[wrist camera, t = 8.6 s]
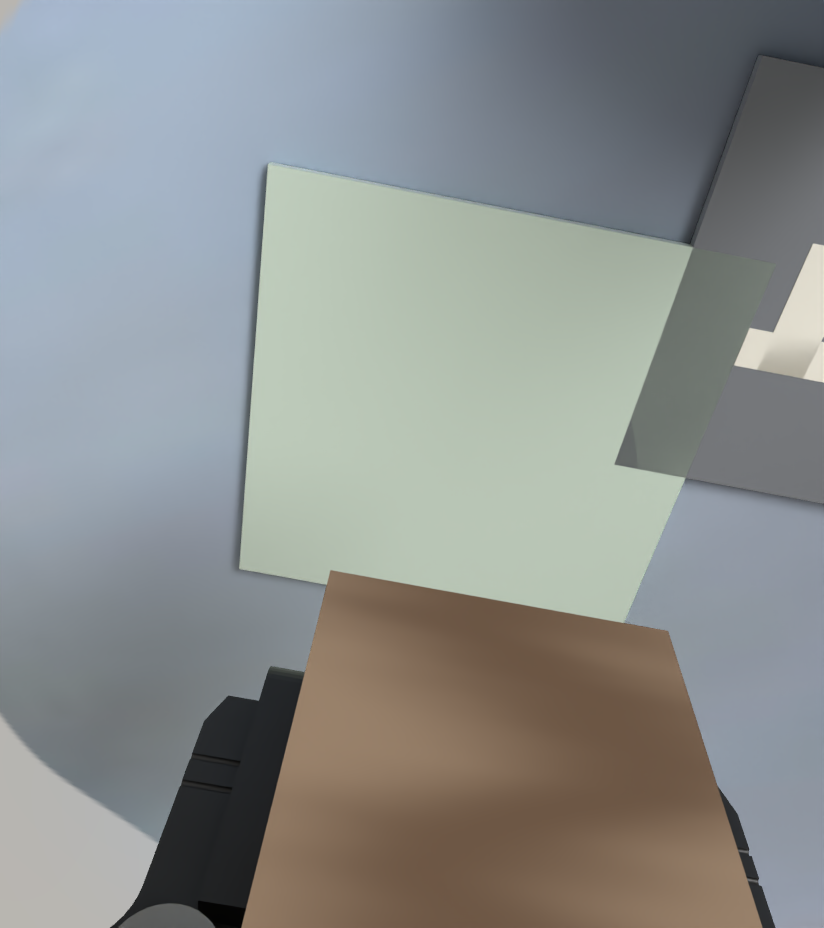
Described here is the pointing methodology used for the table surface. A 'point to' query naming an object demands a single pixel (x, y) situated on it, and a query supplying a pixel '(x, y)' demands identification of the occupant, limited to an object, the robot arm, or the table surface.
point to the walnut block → (492, 775)
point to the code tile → (781, 308)
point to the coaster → (465, 393)
